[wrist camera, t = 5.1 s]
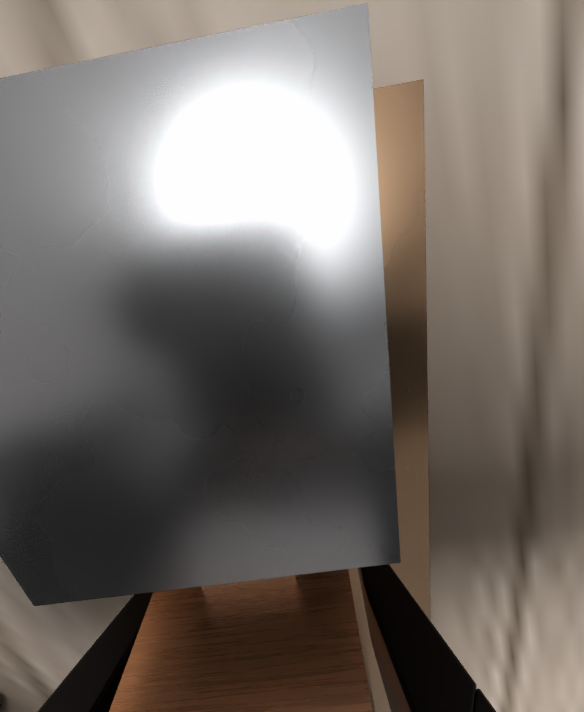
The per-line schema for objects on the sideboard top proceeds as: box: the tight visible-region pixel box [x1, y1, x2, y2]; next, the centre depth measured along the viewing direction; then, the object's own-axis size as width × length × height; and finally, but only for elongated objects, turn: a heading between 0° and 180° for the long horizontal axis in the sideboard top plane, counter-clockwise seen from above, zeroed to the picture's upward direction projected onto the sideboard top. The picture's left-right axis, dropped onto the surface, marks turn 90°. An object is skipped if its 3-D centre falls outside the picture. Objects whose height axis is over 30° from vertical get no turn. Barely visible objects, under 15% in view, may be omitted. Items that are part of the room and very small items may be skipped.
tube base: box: [0, 3, 431, 712], centre depth 9 cm, size 28×9×4 cm, turn 9°
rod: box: [109, 569, 373, 712], centre depth 8 cm, size 16×4×4 cm, turn 9°
